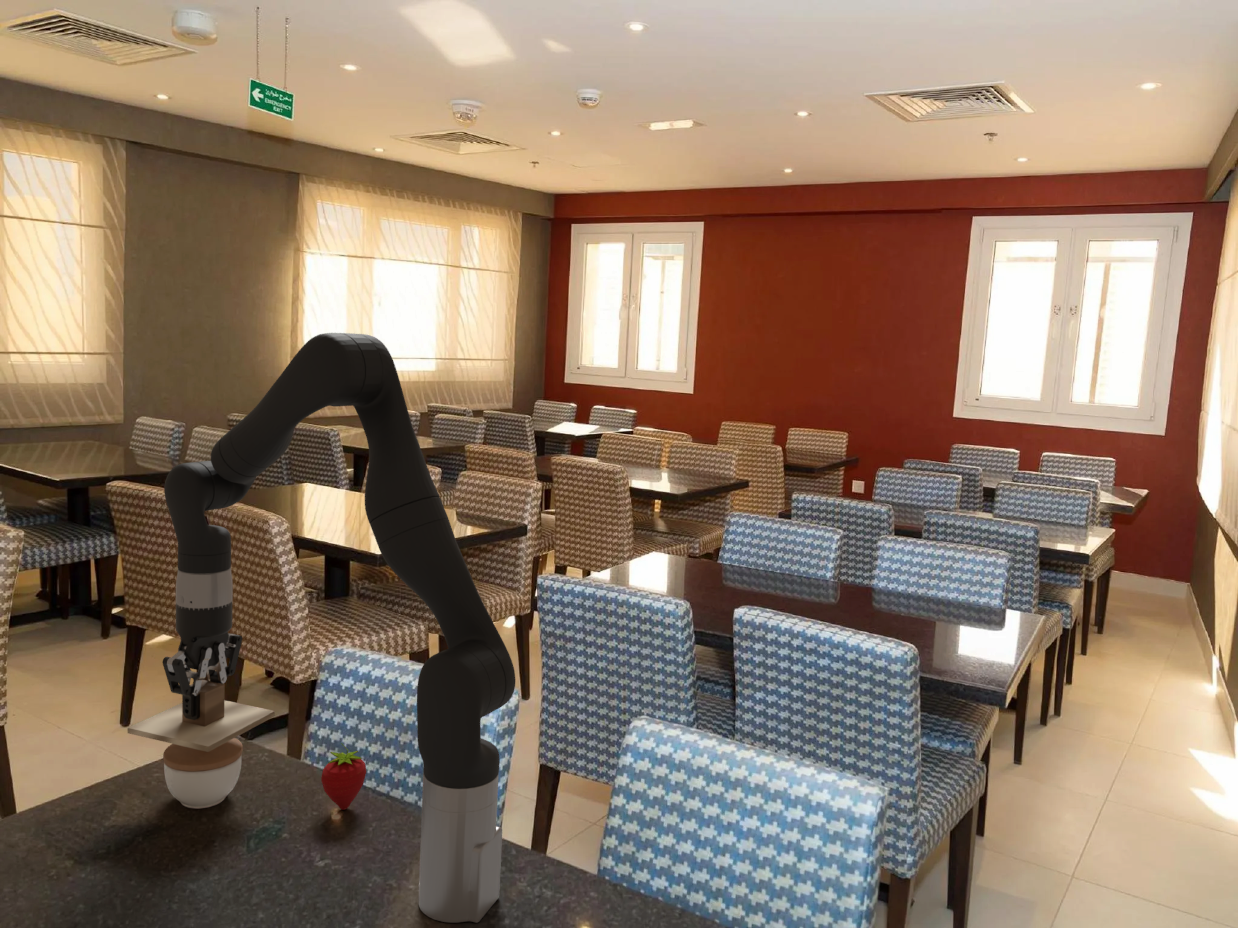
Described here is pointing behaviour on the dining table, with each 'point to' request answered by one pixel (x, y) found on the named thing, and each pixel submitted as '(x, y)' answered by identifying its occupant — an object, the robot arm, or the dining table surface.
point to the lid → (203, 721)
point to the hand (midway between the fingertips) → (203, 712)
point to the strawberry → (343, 778)
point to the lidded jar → (202, 773)
